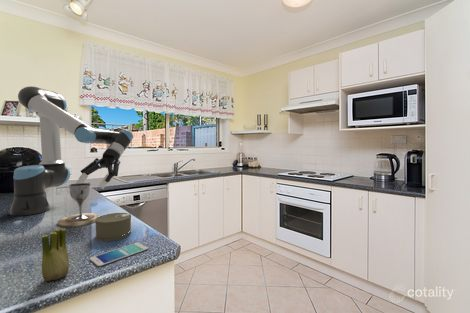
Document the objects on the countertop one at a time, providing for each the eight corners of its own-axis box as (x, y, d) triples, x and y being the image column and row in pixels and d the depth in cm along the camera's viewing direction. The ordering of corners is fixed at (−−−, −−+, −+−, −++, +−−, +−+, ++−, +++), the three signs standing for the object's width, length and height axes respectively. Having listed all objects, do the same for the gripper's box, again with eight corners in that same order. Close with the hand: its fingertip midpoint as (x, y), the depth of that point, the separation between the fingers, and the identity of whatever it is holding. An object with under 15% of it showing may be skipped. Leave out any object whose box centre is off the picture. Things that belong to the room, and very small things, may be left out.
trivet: (75, 228, 94) (75, 225, 94) (48, 224, 99) (48, 221, 99) (109, 217, 109) (108, 214, 109) (84, 214, 114) (84, 211, 114)
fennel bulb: (43, 286, 55) (41, 236, 54) (39, 278, 58) (38, 231, 57) (72, 276, 59) (71, 230, 59) (67, 269, 62) (66, 225, 62)
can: (91, 235, 87) (90, 217, 87) (123, 227, 96) (123, 211, 95) (101, 244, 79) (101, 224, 78) (136, 234, 87) (136, 217, 87)
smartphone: (149, 248, 75) (98, 266, 63) (149, 250, 75) (98, 269, 63) (137, 242, 80) (88, 257, 68) (137, 244, 80) (88, 260, 68)
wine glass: (68, 221, 99) (67, 186, 98) (71, 216, 106) (70, 183, 105) (90, 218, 102) (89, 184, 102) (91, 214, 109) (91, 182, 109)
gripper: (137, 158, 120) (115, 192, 107) (98, 157, 127) (73, 189, 113) (130, 148, 115) (106, 182, 101) (89, 147, 121) (62, 180, 108)
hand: (89, 186), depth 107 cm, fingers open, 13 cm apart
